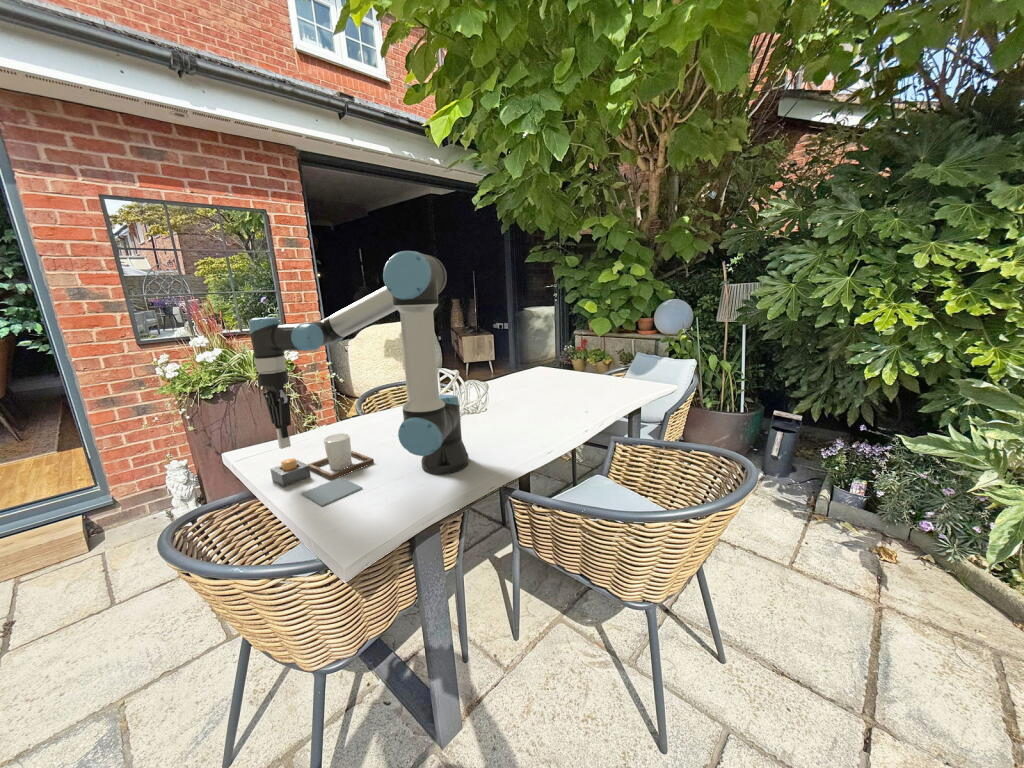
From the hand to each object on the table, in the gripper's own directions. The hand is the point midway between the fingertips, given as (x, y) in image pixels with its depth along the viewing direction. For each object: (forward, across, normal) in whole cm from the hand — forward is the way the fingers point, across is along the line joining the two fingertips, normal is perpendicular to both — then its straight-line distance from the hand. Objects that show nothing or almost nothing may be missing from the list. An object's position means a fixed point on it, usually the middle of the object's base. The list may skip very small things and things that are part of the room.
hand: (285, 446), depth 121 cm
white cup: (+11, -4, -14) cm, 18 cm away
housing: (+11, 0, 0) cm, 11 cm away
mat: (+10, -19, -3) cm, 22 cm away
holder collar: (+11, -4, -14) cm, 18 cm away
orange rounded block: (+9, 0, 0) cm, 9 cm away
